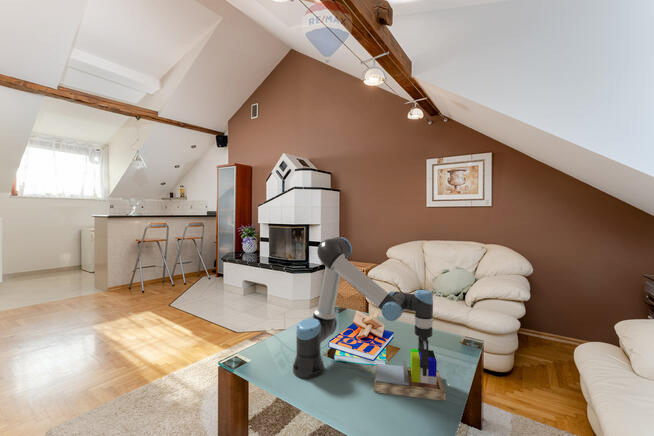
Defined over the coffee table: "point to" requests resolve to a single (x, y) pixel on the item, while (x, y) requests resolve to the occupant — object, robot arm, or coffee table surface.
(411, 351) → the puzzle toy
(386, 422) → the coffee table surface
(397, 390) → the board
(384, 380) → the lid
